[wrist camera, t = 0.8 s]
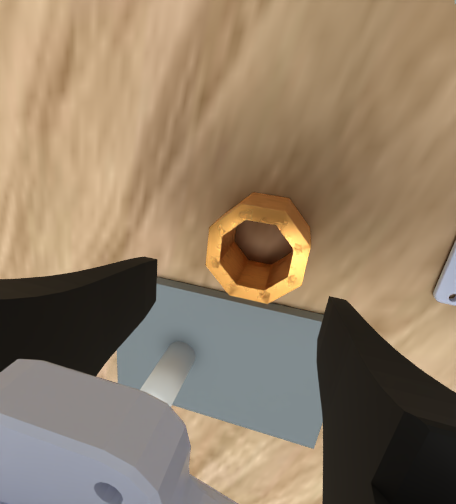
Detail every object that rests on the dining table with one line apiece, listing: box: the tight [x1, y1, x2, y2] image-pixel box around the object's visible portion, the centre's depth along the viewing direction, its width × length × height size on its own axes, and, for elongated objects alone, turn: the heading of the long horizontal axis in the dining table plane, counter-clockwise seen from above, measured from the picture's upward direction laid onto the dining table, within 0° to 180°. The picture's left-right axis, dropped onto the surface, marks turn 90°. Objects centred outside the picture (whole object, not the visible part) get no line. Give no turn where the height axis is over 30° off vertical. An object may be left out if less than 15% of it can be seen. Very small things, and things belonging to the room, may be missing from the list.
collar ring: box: [205, 192, 311, 304], centre depth 18 cm, size 6×6×4 cm
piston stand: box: [117, 277, 324, 449], centre depth 22 cm, size 18×12×6 cm, turn 85°
